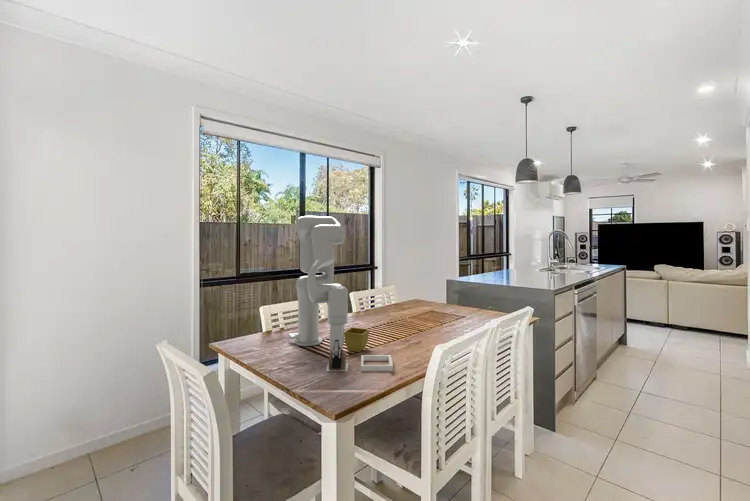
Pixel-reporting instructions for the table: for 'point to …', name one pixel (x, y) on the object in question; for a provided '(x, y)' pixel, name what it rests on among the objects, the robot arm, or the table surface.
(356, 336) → the flower pot
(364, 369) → the light grey square frame
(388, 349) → the table surface
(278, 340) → the table surface
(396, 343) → the table surface
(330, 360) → the napkin ring
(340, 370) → the peg stand
